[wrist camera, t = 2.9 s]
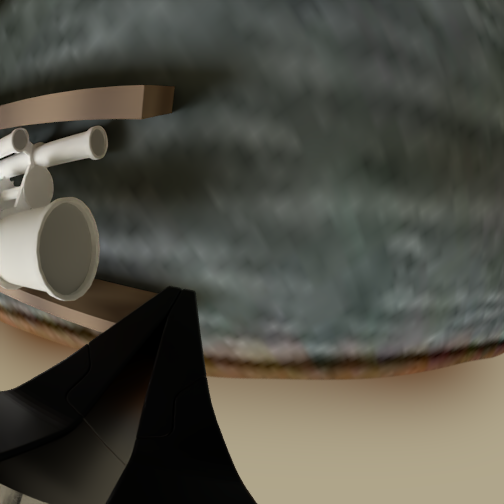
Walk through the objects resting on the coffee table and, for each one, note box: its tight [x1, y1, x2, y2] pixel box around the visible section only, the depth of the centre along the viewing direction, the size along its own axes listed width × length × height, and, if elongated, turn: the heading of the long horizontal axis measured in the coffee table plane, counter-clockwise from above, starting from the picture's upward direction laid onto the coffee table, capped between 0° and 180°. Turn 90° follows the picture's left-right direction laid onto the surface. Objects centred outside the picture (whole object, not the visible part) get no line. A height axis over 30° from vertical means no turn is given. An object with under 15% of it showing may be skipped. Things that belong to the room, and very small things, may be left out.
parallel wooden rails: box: [0, 85, 175, 332], centre depth 12 cm, size 21×12×3 cm, turn 81°
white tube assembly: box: [0, 125, 108, 301], centre depth 11 cm, size 8×14×5 cm
